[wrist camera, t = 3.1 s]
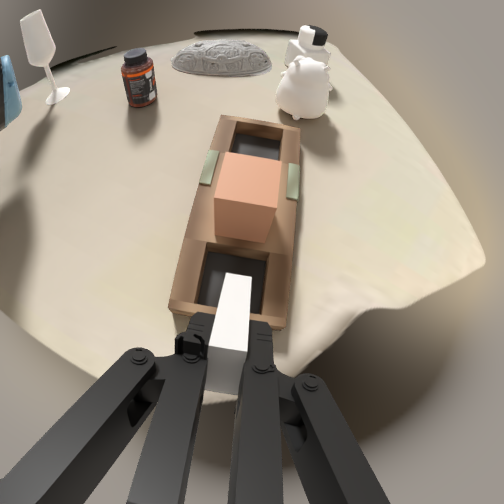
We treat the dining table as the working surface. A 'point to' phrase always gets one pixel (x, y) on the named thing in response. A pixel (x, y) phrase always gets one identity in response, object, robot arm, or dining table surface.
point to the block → (246, 197)
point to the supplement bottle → (139, 78)
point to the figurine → (304, 88)
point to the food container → (233, 58)
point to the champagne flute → (41, 50)
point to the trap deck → (237, 250)
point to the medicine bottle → (308, 45)
